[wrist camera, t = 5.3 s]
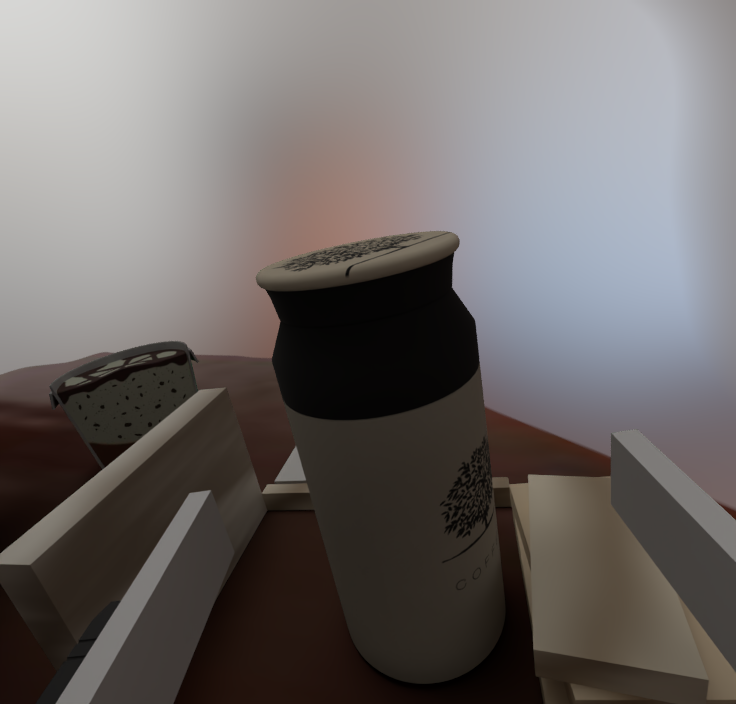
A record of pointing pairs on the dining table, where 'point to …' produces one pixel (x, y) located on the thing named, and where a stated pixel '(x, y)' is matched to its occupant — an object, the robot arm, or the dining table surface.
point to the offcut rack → (248, 506)
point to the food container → (125, 395)
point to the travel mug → (394, 447)
